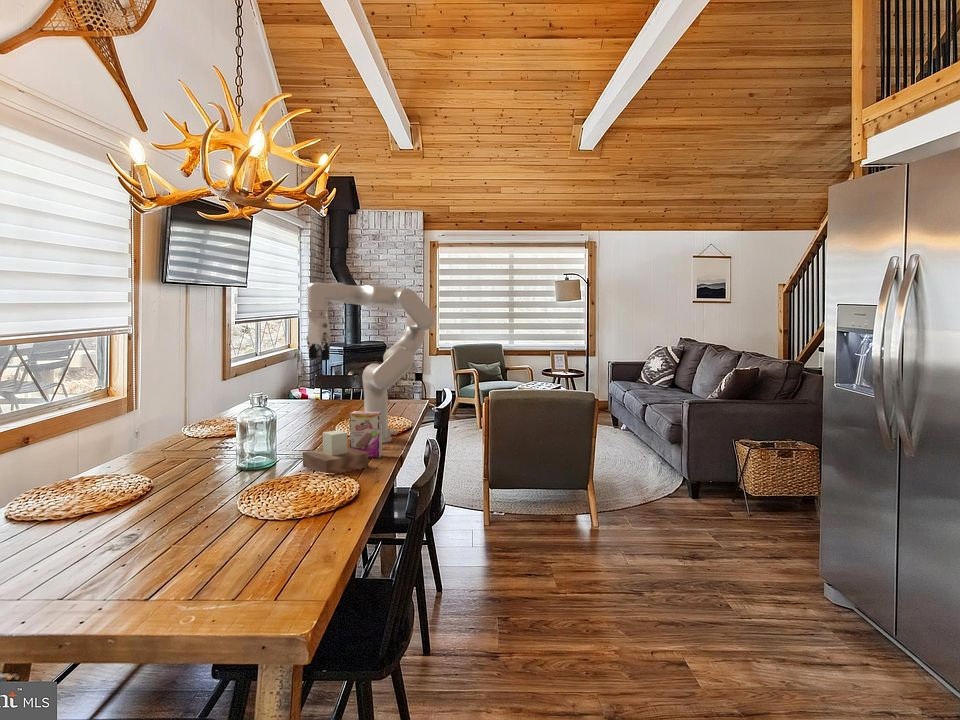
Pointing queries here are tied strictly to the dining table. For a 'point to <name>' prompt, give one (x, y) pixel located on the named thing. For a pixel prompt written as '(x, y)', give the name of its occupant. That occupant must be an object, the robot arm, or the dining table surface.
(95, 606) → the dining table surface
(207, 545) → the dining table surface
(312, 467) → the block
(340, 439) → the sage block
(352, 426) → the candy bar box
